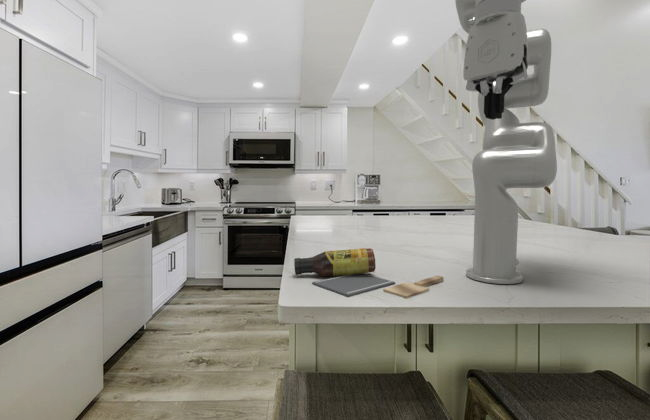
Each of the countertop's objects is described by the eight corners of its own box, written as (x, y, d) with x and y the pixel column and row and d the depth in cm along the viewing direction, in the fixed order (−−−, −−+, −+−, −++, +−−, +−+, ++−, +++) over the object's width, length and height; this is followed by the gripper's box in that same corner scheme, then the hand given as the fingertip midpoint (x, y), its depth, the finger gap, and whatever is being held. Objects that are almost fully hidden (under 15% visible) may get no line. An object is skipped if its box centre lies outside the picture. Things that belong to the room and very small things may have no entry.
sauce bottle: (376, 251, 83) (293, 258, 82) (377, 276, 84) (295, 283, 83) (370, 244, 90) (293, 251, 88) (371, 267, 91) (295, 274, 89)
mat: (358, 273, 89) (358, 271, 89) (395, 283, 80) (395, 281, 80) (311, 283, 79) (312, 281, 79) (348, 296, 70) (348, 294, 70)
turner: (429, 277, 85) (429, 273, 85) (451, 283, 80) (451, 278, 80) (383, 291, 74) (383, 287, 74) (406, 299, 70) (406, 294, 70)
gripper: (448, 24, 67) (446, 121, 68) (534, -10, 55) (529, 108, 56) (468, 35, 71) (465, 126, 72) (551, 6, 60) (546, 114, 61)
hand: (493, 117), depth 64 cm, fingers closed
